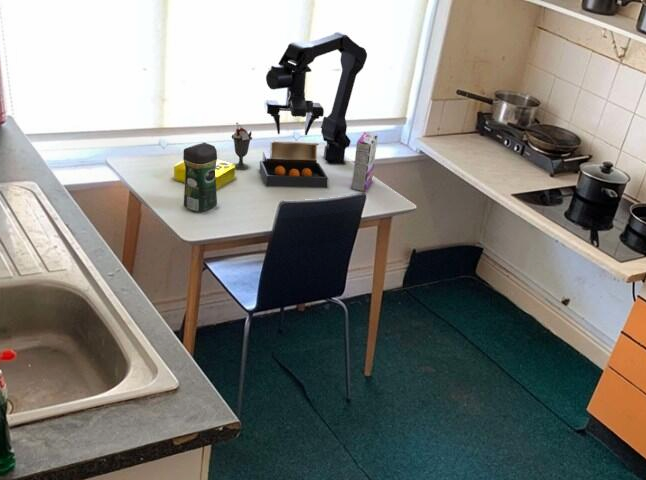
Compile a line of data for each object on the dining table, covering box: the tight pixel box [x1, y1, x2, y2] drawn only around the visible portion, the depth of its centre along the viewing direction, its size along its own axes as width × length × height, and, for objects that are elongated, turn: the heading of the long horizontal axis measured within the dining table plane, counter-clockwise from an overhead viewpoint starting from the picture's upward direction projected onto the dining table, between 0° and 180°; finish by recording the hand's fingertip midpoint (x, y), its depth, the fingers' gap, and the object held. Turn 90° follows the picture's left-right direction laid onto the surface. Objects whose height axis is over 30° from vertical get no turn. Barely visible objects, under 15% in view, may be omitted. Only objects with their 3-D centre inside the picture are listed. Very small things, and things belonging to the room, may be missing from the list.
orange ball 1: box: [275, 166, 285, 176], centre depth 252 cm, size 4×4×4 cm
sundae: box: [231, 122, 253, 171], centre depth 252 cm, size 7×7×15 cm
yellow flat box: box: [173, 159, 236, 190], centre depth 243 cm, size 15×15×5 cm
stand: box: [262, 150, 318, 163], centre depth 258 cm, size 17×7×6 cm, turn 107°
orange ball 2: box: [289, 169, 300, 176], centre depth 252 cm, size 4×4×4 cm
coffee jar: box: [182, 142, 218, 213], centre depth 221 cm, size 10×8×19 cm
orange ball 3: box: [301, 168, 312, 177], centre depth 254 cm, size 4×4×4 cm
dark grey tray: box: [259, 160, 329, 189], centre depth 254 cm, size 20×13×4 cm, turn 107°
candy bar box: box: [351, 131, 379, 193], centre depth 254 cm, size 11×5×16 cm, turn 168°
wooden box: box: [269, 140, 319, 160], centre depth 250 cm, size 15×6×6 cm
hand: (292, 134), depth 253 cm, fingers open, 9 cm apart
